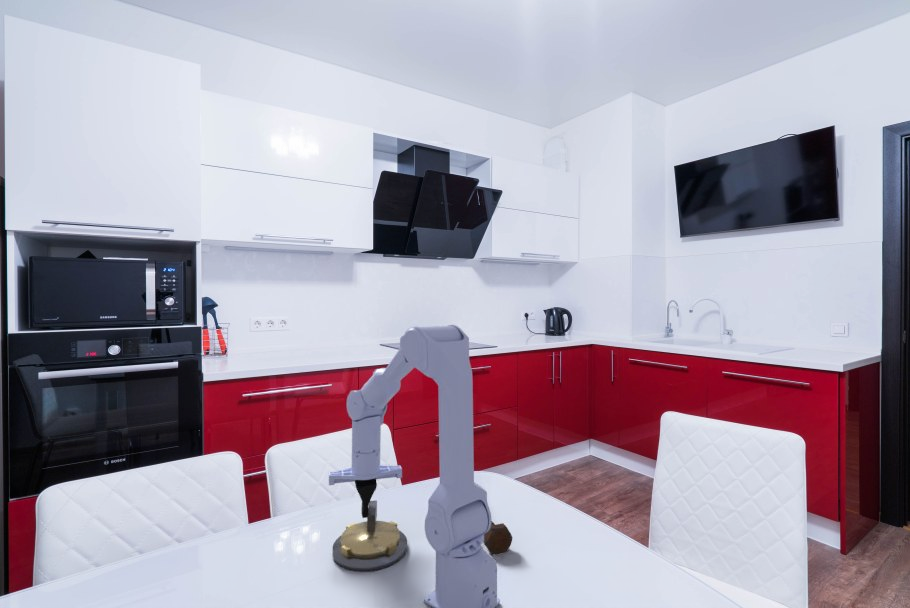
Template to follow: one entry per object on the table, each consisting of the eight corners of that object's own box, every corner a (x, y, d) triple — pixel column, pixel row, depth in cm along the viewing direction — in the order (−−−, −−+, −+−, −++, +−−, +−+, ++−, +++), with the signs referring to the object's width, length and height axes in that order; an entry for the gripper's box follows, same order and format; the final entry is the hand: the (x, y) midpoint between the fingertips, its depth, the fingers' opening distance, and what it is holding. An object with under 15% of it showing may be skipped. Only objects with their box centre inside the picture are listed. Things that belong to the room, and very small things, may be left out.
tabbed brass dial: (366, 569, 77) (366, 543, 77) (323, 544, 85) (323, 521, 85) (416, 539, 87) (416, 516, 87) (373, 519, 94) (373, 499, 94)
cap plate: (422, 548, 86) (422, 542, 86) (363, 582, 76) (363, 575, 76) (375, 524, 96) (375, 518, 96) (317, 551, 85) (317, 545, 85)
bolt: (472, 526, 99) (503, 561, 85) (453, 518, 97) (482, 552, 83) (484, 501, 100) (516, 531, 86) (466, 492, 99) (496, 521, 85)
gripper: (398, 440, 97) (397, 502, 97) (328, 445, 93) (327, 510, 93) (404, 450, 90) (403, 517, 90) (329, 457, 86) (328, 527, 86)
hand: (365, 515), depth 91 cm, fingers closed, pressing on tabbed brass dial
